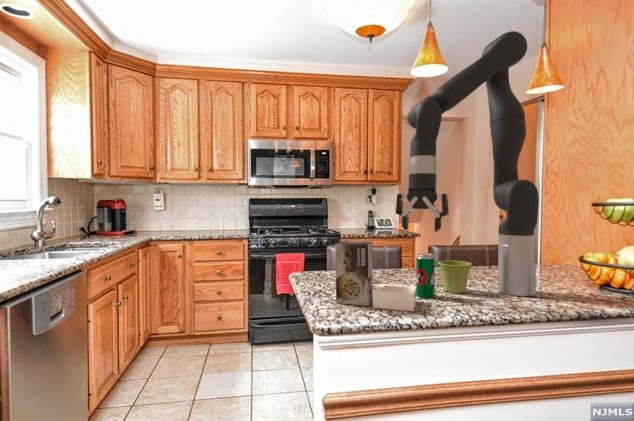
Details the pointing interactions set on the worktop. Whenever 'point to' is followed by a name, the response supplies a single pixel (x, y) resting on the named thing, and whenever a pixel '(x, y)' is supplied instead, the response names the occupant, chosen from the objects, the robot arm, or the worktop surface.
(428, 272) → the soda can
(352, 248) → the coffee box
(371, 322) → the worktop surface
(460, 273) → the plant pot
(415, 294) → the holder
